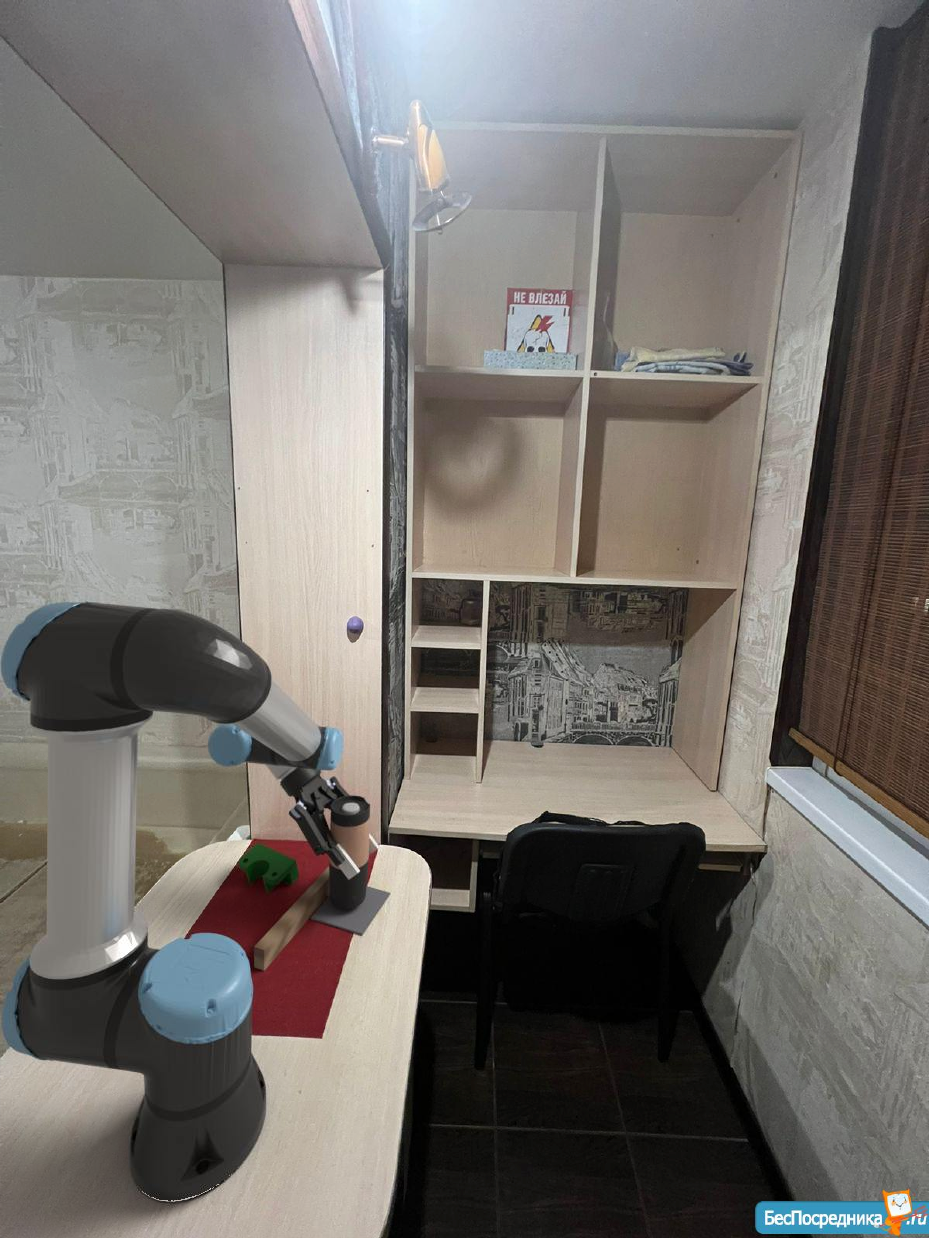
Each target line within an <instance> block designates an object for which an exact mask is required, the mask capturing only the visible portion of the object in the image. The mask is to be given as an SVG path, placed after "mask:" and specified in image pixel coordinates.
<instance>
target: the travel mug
mask: <svg viewBox="0 0 929 1238" xmlns="http://www.w3.org/2000/svg"><path fill="white" fill-rule="evenodd" d="M370 817H371V803H369V802H367V801H366V798H365V797H363V796H360V795H353V794H352V795H350V796H344V797H340V798H338V799H336V800H335V801H334V802H333V803H332V805H331V810H330V820H329V821H330V824H329V829H330V831H331V834H332V837H333V839H334V842H335V846H336V845H337V844H338V843H339V844H340V845H341V846H342V848H343V849H344V850H345V851H346V853H347V854H348V855H349V857H350V858H351V859H352V861H353V862H354V863H355V865H356V866H357V867H358V869H359V870H360V872H359V873H358V874H356V875H355V876H353V877H352V878H351V879H349V880H348V878H347V877H346V876H345V874H344V873H343V871H342V870H341V869H340V867H339V866H338V867H337V866H336V865H335V864H334V862H333V861H332V860H331V859H330V857H329V856H328V867H329V895H328V897H329V896H330V902H331V904H332V905H333V906H334V907H336V908H339V909H352V908H355V907H357V906H359V905H360V904H362V903H363V901H364V900H365V897H366V887H367V886H368V884H367V883H368V873H369V872H368V871H369V870H368V869H369V861H370V860H369V857H370V855H369V832H370V824H371V820H370V819H371V818H370Z"/></svg>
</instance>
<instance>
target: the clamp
mask: <svg viewBox="0 0 929 1238" xmlns="http://www.w3.org/2000/svg"><path fill="white" fill-rule="evenodd" d="M237 864H238V867H239V870H241V871H242V872H244V873H246V877H247V881H248V885H249V884H250V885H252V884H253V883H254V882H255V881H256V880H258V879H260V878H262V880H263V885H264V888H265V892H266V894H269V893H270V892H271V891H273V890H274V888H276V886H278V885H279V884H280V883H281V882H282V883H284V884H286V885H289V886H292V885H293V884H294V883H295V882H296V881H297V880H298V879H299V878H300V873H299V871H300V870H299V867H298V863H297V860H296V859H295V858H293V857H290V856H289V855H285V854H284V853H282V852H279V851H277V850H275V849H272V848H270V847H268V846H265V845H264V844H262V843H260V842H257V843H256V844H254V845H253V846H252V847H251V848H249V850H247V852H245V854H243V855H242V856H241V857H240V858H239V860H238V862H237Z"/></svg>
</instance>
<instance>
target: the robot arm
mask: <svg viewBox="0 0 929 1238" xmlns="http://www.w3.org/2000/svg"><path fill="white" fill-rule="evenodd" d="M1 653H2V654H1V660H0V673H1V677H2V680H3V683H4V685H5V686H6V688H7V689H10V690H11V693H13V695H14V696H16V697H18V698H20V699H22V700H23V701H25V702H30V707H29V708H30V709H29V712H30V713H29V714H30V717H29V718H30V722H29V724H30V728H31V729H32V730H33V731H36V732H37V733H38V734H39V735H41V736H43V737H44V738H45V739H46V740H47V823H46V824H47V826H46V827H47V828H46V829H47V834H46V836H47V841H46V842H47V843H46V844H47V845H46V846H47V847H46V850H47V851H46V857H47V858H46V859H47V860H46V869H47V870H46V934H45V935H44V936H42V938H41V939H39V940H38V941H37V943H36V944H35V945H34V946H33V948H32V950H31V951H30V952H31V953H30V954H29V955H28V957H27V958H26V959H25V960H24V961H23V962H22V964H21V965H20V966H19V967H18V969H17V970H16V973H15V975H14V976H13V978H12V980H11V982H12V983H13V987H12V988H11V989H10V990H8V991H7V992H6V994H5V997H4V998H3V999H4V1000H3V1003H2V1009H1V1017H0V1020H1V1032H2V1035H3V1037H4V1040H5V1042H6V1043H7V1045H8V1046H9V1047H10V1048H11V1049H13V1050H14V1051H16V1052H17V1053H19V1054H23V1055H28V1056H30V1057H32V1058H34V1059H36V1060H39V1061H50V1062H54V1061H55V1062H60V1063H61V1062H63V1063H69V1064H74V1065H83V1066H90V1067H99V1068H104V1069H113V1070H119V1071H127V1072H131V1073H139V1074H141V1075H143V1082H144V1083H143V1084H144V1094H143V1097H142V1100H141V1102H140V1105H139V1107H138V1109H137V1114H136V1116H135V1119H134V1122H133V1125H132V1128H131V1132H130V1138H129V1148H128V1149H129V1150H128V1152H129V1168H130V1173H131V1177H132V1179H134V1180H133V1182H134V1181H135V1182H134V1184H135V1183H136V1184H135V1186H136V1185H137V1186H138V1187H139V1188H140V1189H141V1191H143V1192H144V1193H146V1194H147V1195H149V1196H150V1197H154V1198H156V1199H159V1200H168V1201H171V1200H173V1201H174V1200H181V1199H185V1198H188V1197H192V1196H195V1195H199V1194H201V1193H203V1192H205V1191H207V1190H209V1189H210V1188H211V1189H212V1188H213V1187H215V1186H216V1185H217V1184H220V1183H221V1182H222V1181H223V1180H225V1179H226V1178H227V1179H229V1178H230V1177H229V1175H231V1174H232V1175H234V1173H235V1172H236V1171H237V1170H238V1169H239V1168H240V1167H241V1166H242V1165H243V1163H244V1162H245V1161H246V1160H247V1158H248V1157H249V1155H250V1154H251V1153H252V1151H253V1149H254V1147H255V1146H256V1144H257V1142H258V1141H259V1138H260V1136H261V1133H262V1131H263V1127H264V1124H265V1120H266V1113H267V1085H266V1082H265V1078H264V1075H263V1072H262V1071H261V1069H260V1067H259V1064H258V1062H257V1060H256V1059H255V1057H254V1055H253V1052H252V1040H253V1039H252V1035H253V1034H252V1033H253V1031H252V1026H253V1025H252V1023H253V1021H252V1018H253V1016H252V1014H253V1013H252V1011H253V1010H252V1009H253V1007H252V1005H253V996H254V994H253V993H254V984H253V979H252V973H251V972H252V971H251V967H250V965H251V964H250V960H249V959H248V956H247V954H246V951H245V950H244V948H242V946H241V945H240V944H239V943H238V942H236V941H235V940H234V939H232V938H230V937H228V936H225V935H223V934H219V933H213V932H200V933H199V932H198V933H194V934H191V935H190V937H189V938H188V939H185V938H184V937H178V938H177V939H175V940H172V941H170V942H169V943H167V944H165V945H164V946H163V947H161V948H153V947H150V946H149V941H148V940H149V937H148V936H149V931H148V930H149V923H148V920H147V918H146V917H145V916H144V915H143V914H141V913H140V912H138V911H136V910H135V899H136V897H135V896H136V895H135V894H136V892H135V891H136V889H135V888H136V848H137V845H136V844H137V836H136V835H137V833H136V832H137V804H138V803H137V801H138V800H137V797H138V796H137V795H138V794H137V793H138V792H137V790H138V753H139V751H138V748H139V747H138V745H139V744H138V743H139V737H138V736H139V731H140V729H141V728H142V727H143V726H145V725H146V724H147V723H148V722H149V721H150V720H152V718H153V716H154V712H160V713H161V712H162V713H173V714H183V715H190V716H191V715H192V716H198V717H204V718H206V719H207V720H208V721H211V722H213V723H214V724H215V723H216V724H219V726H216V728H215V729H213V730H212V732H211V734H210V736H209V738H208V741H207V751H208V754H209V757H211V759H212V760H213V762H215V763H216V764H218V766H221V767H227V768H228V767H233V766H234V767H235V766H239V765H242V764H244V763H246V764H247V763H249V764H257V765H265V766H266V768H267V769H268V770H269V771H270V773H271V774H272V775H273V777H274V778H275V779H276V780H278V781H279V780H281V781H280V782H279V783H280V784H279V785H280V787H281V788H282V789H283V790H284V792H285V793H286V795H287V796H288V797H293V798H294V800H295V805H294V806H293V807H292V808H291V809H290V810H289V811H288V815H289V816H290V818H291V819H293V820H294V821H295V822H296V824H297V825H298V828H299V829H300V831H301V832H302V834H303V836H304V838H305V839H306V841H307V843H308V844H309V847H310V848H311V850H312V852H313V853H314V855H315V856H317V857H319V856H320V855H321V856H324V855H327V856H328V858H329V857H330V859H331V860H332V861H333V862H334V864H335V865H336V866H337V867H338V866H339V867H340V869H341V870H342V871H343V873H344V874H345V876H346V877H347V878H348V880H349V879H351V878H352V877H353V876H355V875H356V874H358V873H359V872H360V870H359V869H358V867H357V866H356V865H355V863H354V862H353V861H352V859H351V858H350V857H349V855H348V854H347V853H346V851H345V850H344V849H343V848H342V846H341V845H340V844H339V843H338V844H337V845H336V846H335V842H334V839H333V837H332V834H331V831H330V825H329V824H328V821H327V819H326V816H325V813H324V812H325V809H326V810H327V809H328V810H329V811H331V805H332V803H333V802H334V801H335V800H336V799H338V798H340V797H344V796H351V795H350V794H349V793H348V792H347V790H345V788H344V787H343V786H342V785H341V784H340V782H339V780H338V778H337V777H336V775H333V776H332V777H330V778H329V779H327V780H326V779H324V778H322V776H321V774H322V771H333V770H335V769H336V768H337V767H338V765H339V763H340V761H341V759H342V754H343V748H344V736H343V732H342V730H340V729H339V728H337V727H336V728H335V727H329V726H327V725H326V726H321V725H320V726H319V725H318V724H317V723H316V722H315V720H313V719H312V718H311V717H310V716H309V715H308V714H307V713H306V712H305V710H303V709H302V708H301V707H300V705H298V704H297V703H296V702H295V701H294V700H293V699H292V698H291V697H290V696H288V694H287V693H286V692H285V691H284V690H283V689H282V688H281V687H280V686H279V685H277V683H276V682H275V681H274V680H273V674H272V671H271V669H270V667H269V665H268V663H267V662H266V661H265V660H264V659H263V658H262V657H261V656H260V655H259V654H258V653H257V652H256V651H255V650H254V649H253V648H252V647H250V646H249V645H247V644H246V643H245V641H242V640H241V639H240V638H238V637H237V636H235V635H234V634H233V633H231V632H229V631H228V630H226V629H225V628H222V626H219V625H217V624H216V623H215V622H212V621H210V620H209V619H206V618H203V617H201V616H198V615H196V614H194V613H190V612H186V611H183V610H179V609H173V608H155V607H152V608H151V607H143V606H133V605H123V604H115V603H114V604H112V603H102V602H97V601H96V602H94V601H78V602H77V601H74V602H73V601H72V602H71V601H69V602H68V601H66V602H64V601H63V602H62V601H61V602H54V603H50V604H46V605H43V606H41V607H39V608H37V609H36V610H33V611H32V612H31V613H29V614H28V615H26V617H25V618H24V620H23V621H22V622H21V623H19V624H16V626H15V627H14V628H13V629H12V631H11V633H10V634H9V636H8V637H7V640H6V642H5V644H4V646H3V650H2V652H1ZM379 848H380V845H379V844H378V843H377V841H376V840H375V839H374V837H373V836H372V835H371V834H370V831H369V856H370V855H372V854H373V853H375V852H376V851H378V850H379ZM243 1161H244V1162H243ZM238 1167H239V1168H238ZM234 1171H235V1172H234ZM233 1172H234V1173H233ZM232 1175H231V1176H232ZM228 1177H229V1178H228ZM227 1179H226V1180H227ZM226 1180H225V1181H226ZM222 1183H223V1182H222ZM222 1183H221V1184H222ZM221 1184H220V1185H221ZM137 1186H136V1187H137ZM138 1187H137V1188H138ZM139 1188H138V1189H139ZM215 1188H216V1187H215ZM212 1190H213V1189H212ZM141 1191H140V1192H141ZM144 1193H143V1194H144Z"/></svg>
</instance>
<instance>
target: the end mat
mask: <svg viewBox="0 0 929 1238" xmlns="http://www.w3.org/2000/svg"><path fill="white" fill-rule="evenodd" d="M389 895H391V892H389V891H385V890H382V889H379V888H375V887H372V886H368V885H367V887H366V897H365V900H364V901H363V903H362V904H360V905H359V906H357V907H355V908H352V909H339V908H336V907H334V906H333V905H332V904H331V902H330V896H329V895H328V897H327V898H326V899H325V900H324V901H323V903H322V904H321V905H320V906H319V907H318V908H317V910H316V911H315V912H314V913H313V914H312V915H311V917H310V919H311V920H312V921H315V920H316V922H318V923H322V924H324V925H328V926H330V927H331V926H332V927H335V928H337V927H338V929H341V930H343V931H347V932H350V933H353V934H356V935H358V936H359V935H360V936H363V935H364V934H365V932H366V931H367V929H368V928H369V926H370V925H371V923H372V922H373V921H374V919H375V918H376V916H377V915H378V913H379V911H380V910H381V908H383V906H384V904H385V903H386V901H387V900H388V898H389V897H390V896H389Z"/></svg>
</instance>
